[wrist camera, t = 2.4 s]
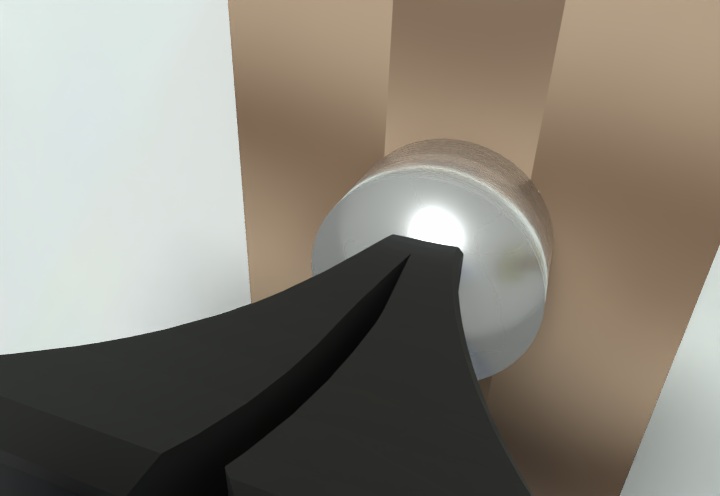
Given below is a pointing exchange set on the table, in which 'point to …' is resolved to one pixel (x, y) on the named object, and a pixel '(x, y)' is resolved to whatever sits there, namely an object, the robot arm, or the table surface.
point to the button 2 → (457, 235)
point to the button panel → (530, 154)
